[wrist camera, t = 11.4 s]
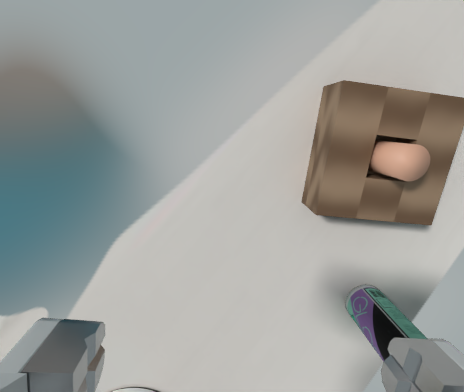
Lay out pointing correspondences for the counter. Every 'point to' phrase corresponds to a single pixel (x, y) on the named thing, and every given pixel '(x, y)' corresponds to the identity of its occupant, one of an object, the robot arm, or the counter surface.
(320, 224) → the counter surface
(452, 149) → the bore block
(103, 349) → the robot arm
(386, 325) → the spray can
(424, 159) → the pin
